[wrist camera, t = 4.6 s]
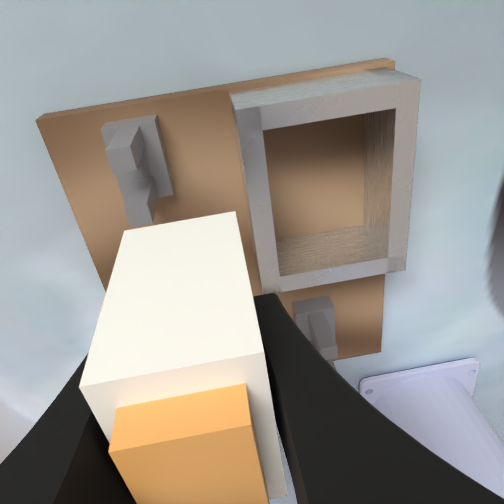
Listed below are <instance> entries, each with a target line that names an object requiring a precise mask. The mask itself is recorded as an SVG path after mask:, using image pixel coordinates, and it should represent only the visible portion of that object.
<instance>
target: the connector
mask: <svg viewBox="0 0 504 504" xmlns="http://www.w3.org/2000/svg"><path fill="white" fill-rule="evenodd" d="M79 388H80V390H81V392H82V394H83V395H84V397H85V399H86V401H87V403H88V405H89V406H90V408H91V410H92V412H93V414H94V416H95V417H96V419H97V421H98V423H99V425H100V427H101V428H102V430H103V432H104V434H105V436H106V438H107V440H108V441H109V443H110V446H109V451H108V453H109V454H110V456H111V458H112V460H113V462H114V463H115V465H116V467H117V469H118V471H119V472H120V474H121V476H122V478H123V480H124V481H125V483H126V485H127V487H128V489H129V490H130V492H131V494H132V496H133V498H134V499H135V501H136V503H137V504H270V503H269V499H272V498H277V497H282V496H287V489H286V483H285V476H284V470H283V464H282V458H281V452H280V446H279V440H278V434H277V428H276V421H275V415H274V409H273V403H272V397H271V391H270V385H269V379H268V373H267V366H266V360H265V354H264V349H263V344H262V339H261V334H260V329H259V325H258V320H257V315H256V310H255V305H254V300H253V295H252V290H251V286H250V281H249V276H248V271H247V266H246V261H245V256H244V251H243V247H242V242H241V237H240V232H239V227H238V222H237V217H236V212H235V211H233V212H227V213H222V214H216V215H210V216H205V217H199V218H193V219H187V220H182V221H176V222H170V223H165V224H159V225H153V226H148V227H142V228H136V229H131V230H125V231H124V233H123V237H122V240H121V244H120V247H119V250H118V254H117V257H116V261H115V264H114V268H113V271H112V275H111V278H110V281H109V285H108V288H107V292H106V295H105V299H104V302H103V306H102V309H101V312H100V316H99V319H98V323H97V326H96V330H95V333H94V337H93V340H92V343H91V347H90V350H89V354H88V357H87V361H86V364H85V368H84V371H83V374H82V378H81V381H80V385H79Z"/></svg>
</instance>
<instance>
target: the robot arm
mask: <svg viewBox="0 0 504 504" xmlns="http://www.w3.org/2000/svg"><path fill="white" fill-rule="evenodd" d="M253 300H254V305H255V310H256V315H257V320H258V325H259V329H260V334H261V339H262V344H263V349H264V354H265V360H266V366H267V373H268V379H269V385H270V391H271V397H272V403H273V409H274V415H275V421H276V424H277V428H278V431H279V434H280V438H281V441H282V445H283V448H284V452H285V455H286V458H287V462H288V465H289V469H290V473H291V477H292V481H293V485H294V489H295V493H296V498H297V503H298V504H504V442H503V441H502V440H501V438H500V437H499V435H498V434H497V432H496V431H495V430H494V428H493V427H492V425H491V424H490V422H489V421H488V420H487V418H486V417H485V415H484V414H483V412H482V411H481V410H480V408H479V407H478V405H477V404H476V402H475V401H474V400H473V393H474V389H475V385H476V381H477V377H478V372H479V368H480V363H479V361H478V360H477V359H476V358H468V359H462V360H457V361H452V362H446V363H441V364H436V365H430V366H425V367H420V368H415V369H409V370H404V371H399V372H393V373H388V374H383V375H377V376H372V377H367V378H364V379H363V380H362V381H361V382H360V394H359V393H358V392H357V391H356V390H355V389H354V388H353V387H352V386H351V385H350V384H349V383H348V382H346V381H345V380H344V379H343V378H342V377H341V376H340V375H339V374H338V373H337V371H336V370H335V369H334V368H333V367H332V366H331V365H330V364H329V363H328V362H327V361H326V360H325V359H324V358H323V357H322V355H321V354H320V353H319V352H318V351H317V350H316V349H315V347H314V346H313V345H312V344H311V343H310V341H309V340H308V339H307V338H306V337H305V335H304V334H303V333H302V332H301V330H300V329H299V328H298V326H297V325H296V324H295V322H294V321H293V320H292V318H291V317H290V315H289V314H288V312H287V311H286V309H285V308H284V306H283V304H282V303H281V301H280V299H279V297H278V295H276V294H274V293H269V294H263V295H258V296H253ZM88 354H89V353H88ZM88 354H87V355H86V357H85V358H84V360H83V361H82V363H81V364H80V366H79V367H78V368H77V370H76V371H75V373H74V374H73V375H72V377H71V378H70V379H69V381H68V382H67V384H66V385H65V386H64V388H63V389H62V391H61V392H60V393H59V395H58V396H57V397H56V399H55V400H54V401H53V402H52V404H51V405H50V406H49V407H48V409H47V410H46V411H45V413H44V414H43V415H42V416H41V418H40V419H39V420H38V421H37V423H36V424H35V425H34V426H33V428H32V429H31V430H30V431H29V433H28V434H27V435H26V436H25V437H24V438H23V439H22V441H21V442H20V443H19V444H18V445H17V446H16V448H15V449H14V450H13V451H12V452H11V453H10V454H9V455H8V456H7V457H6V459H5V460H4V461H3V462H2V463H1V464H0V504H137V503H136V501H135V499H134V498H133V496H132V494H131V492H130V490H129V489H128V487H127V485H126V483H125V481H124V480H123V478H122V476H121V474H120V472H119V471H118V469H117V467H116V465H115V463H114V462H113V460H112V458H111V456H110V454H109V453H108V451H109V446H110V443H109V441H108V440H107V438H106V436H105V434H104V432H103V430H102V428H101V427H100V425H99V423H98V421H97V419H96V417H95V416H94V414H93V412H92V410H91V408H90V406H89V405H88V403H87V401H86V399H85V397H84V395H83V394H82V392H81V390H80V388H79V385H80V381H81V378H82V374H83V371H84V368H85V364H86V361H87V357H88Z"/></svg>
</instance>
